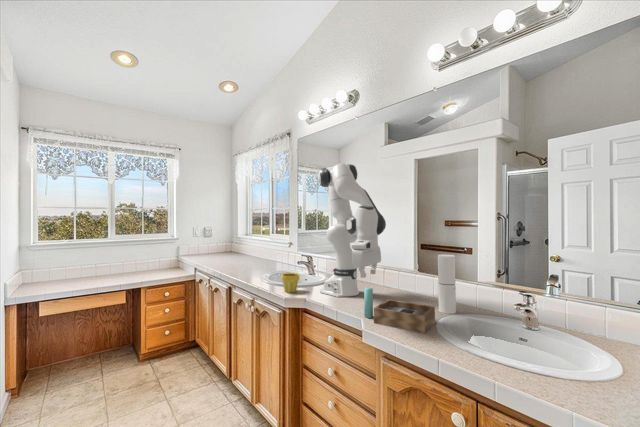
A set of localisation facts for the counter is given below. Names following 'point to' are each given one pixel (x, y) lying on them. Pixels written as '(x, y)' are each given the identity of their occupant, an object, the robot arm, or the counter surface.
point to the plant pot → (290, 282)
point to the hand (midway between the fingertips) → (368, 275)
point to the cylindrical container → (446, 284)
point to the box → (405, 315)
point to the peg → (368, 302)
